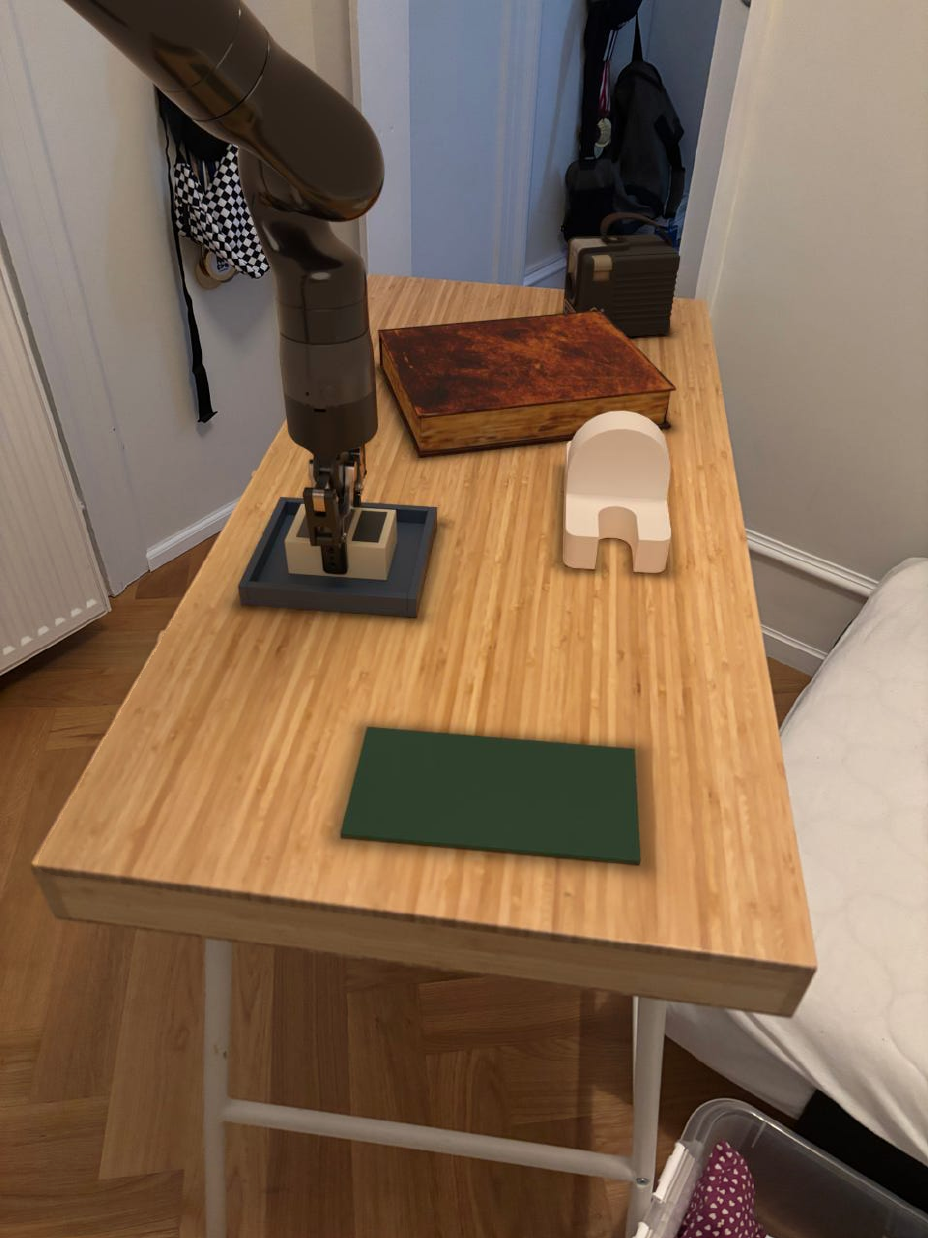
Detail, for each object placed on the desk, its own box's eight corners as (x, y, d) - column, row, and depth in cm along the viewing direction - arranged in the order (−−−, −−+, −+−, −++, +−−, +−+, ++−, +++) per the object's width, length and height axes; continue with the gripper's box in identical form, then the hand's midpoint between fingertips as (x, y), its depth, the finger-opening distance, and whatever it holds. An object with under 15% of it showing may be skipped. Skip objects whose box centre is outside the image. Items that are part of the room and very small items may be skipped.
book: (596, 345, 126) (600, 309, 123) (670, 428, 108) (676, 388, 105) (379, 366, 120) (377, 329, 117) (419, 457, 102) (418, 416, 99)
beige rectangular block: (288, 573, 85) (284, 539, 82) (304, 535, 90) (300, 501, 87) (386, 580, 84) (384, 546, 82) (397, 541, 89) (396, 508, 87)
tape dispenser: (653, 474, 100) (669, 380, 94) (666, 573, 86) (685, 472, 80) (564, 468, 101) (572, 375, 94) (562, 567, 87) (572, 465, 80)
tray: (240, 604, 82) (237, 585, 81) (282, 514, 93) (280, 496, 92) (416, 617, 81) (416, 598, 80) (437, 524, 92) (437, 506, 91)
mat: (340, 837, 63) (340, 833, 63) (367, 730, 71) (367, 726, 70) (639, 864, 62) (640, 861, 61) (634, 752, 69) (634, 748, 69)
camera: (554, 313, 135) (562, 203, 126) (645, 307, 137) (660, 199, 128) (575, 343, 127) (585, 228, 117) (672, 336, 129) (690, 223, 119)
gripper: (304, 342, 82) (320, 505, 92) (259, 419, 71) (284, 595, 81) (389, 347, 81) (396, 510, 92) (358, 425, 70) (369, 601, 81)
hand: (343, 549), depth 86 cm, fingers closed on beige rectangular block, 6 cm apart
